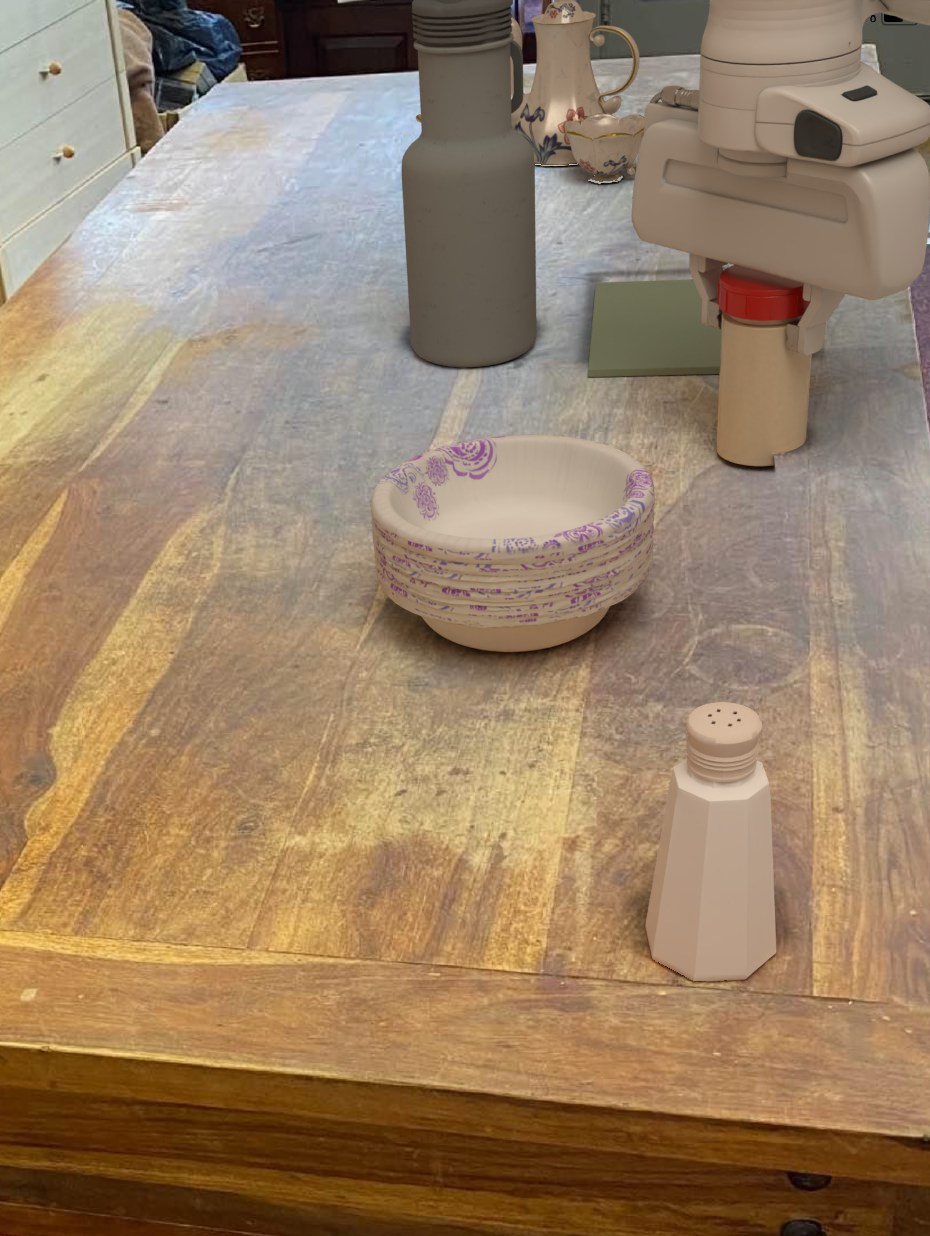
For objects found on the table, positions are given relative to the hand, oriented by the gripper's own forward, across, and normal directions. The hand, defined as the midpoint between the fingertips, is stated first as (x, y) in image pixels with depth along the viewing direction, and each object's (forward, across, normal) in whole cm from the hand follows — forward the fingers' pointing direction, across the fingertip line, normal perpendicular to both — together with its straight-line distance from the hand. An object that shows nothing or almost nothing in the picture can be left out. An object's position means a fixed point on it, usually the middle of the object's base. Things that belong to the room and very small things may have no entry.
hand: (761, 338), depth 101 cm
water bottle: (+8, -30, +1) cm, 31 cm away
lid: (-4, 0, 0) cm, 4 cm away
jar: (+8, 0, +1) cm, 8 cm away
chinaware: (+8, -66, +41) cm, 78 cm away
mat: (+8, -20, +15) cm, 26 cm away
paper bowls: (+8, +5, -25) cm, 27 cm away
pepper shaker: (+8, +32, -37) cm, 50 cm away
